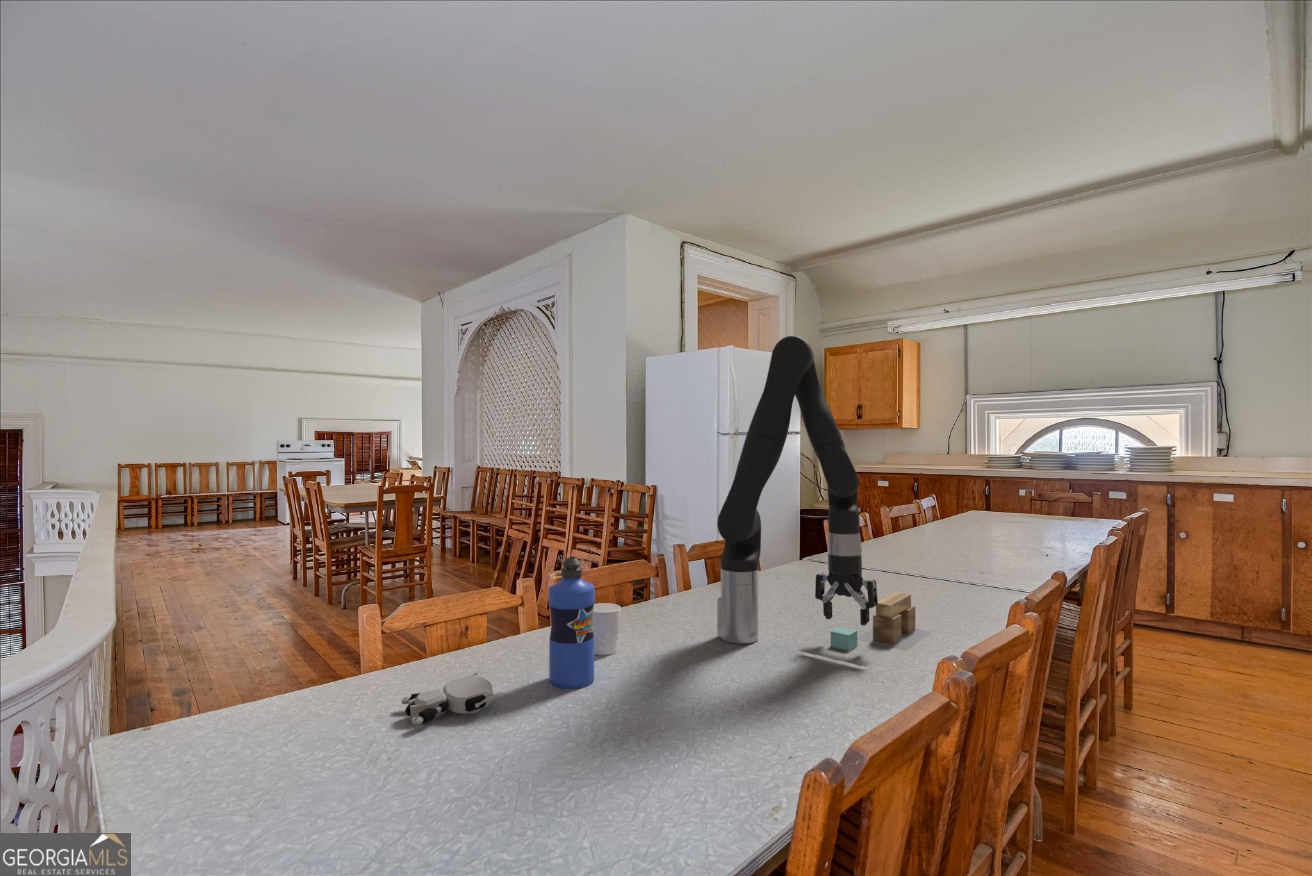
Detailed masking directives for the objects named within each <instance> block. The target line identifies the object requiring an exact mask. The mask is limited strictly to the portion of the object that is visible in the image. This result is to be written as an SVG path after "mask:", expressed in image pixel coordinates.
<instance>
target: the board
mask: <svg viewBox="0 0 1312 876" xmlns="http://www.w3.org/2000/svg"><path fill="white" fill-rule="evenodd" d="M931 633H932V631H930V630H926V629H921V628H916V627H915V631H913V632H912V633H911V634H909V635H907V634H902V633H901V640H900V641H899V642H897V643H896V644H895V645H892V644H887V643H882V642H878V641H873V628H872V629H870V630H869V631H867V632H866V633H863V634H862V635H860V636H858V637H857V641H858V640H859V641H863V642H867V643H873V644H877V645H881V646H886V647H890V648H895V649H900V650H905V651H907V650H909V649H910V648H912V647H913V646H914V645H916V644H917V643H919V642H920V641H921V640H923V639H924V638H925V637H927V636H928V635H929V634H931Z"/></svg>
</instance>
